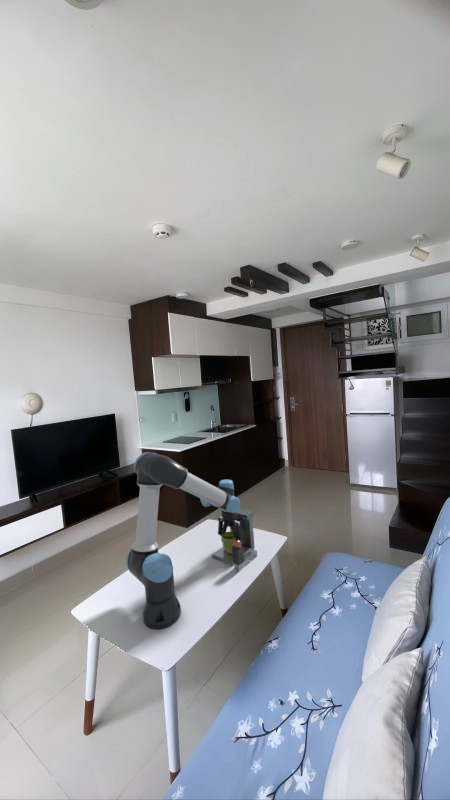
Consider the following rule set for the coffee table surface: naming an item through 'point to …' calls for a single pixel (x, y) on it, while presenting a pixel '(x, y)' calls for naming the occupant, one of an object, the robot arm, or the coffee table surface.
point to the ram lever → (237, 552)
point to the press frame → (247, 541)
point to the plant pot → (228, 541)
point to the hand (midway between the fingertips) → (231, 550)
